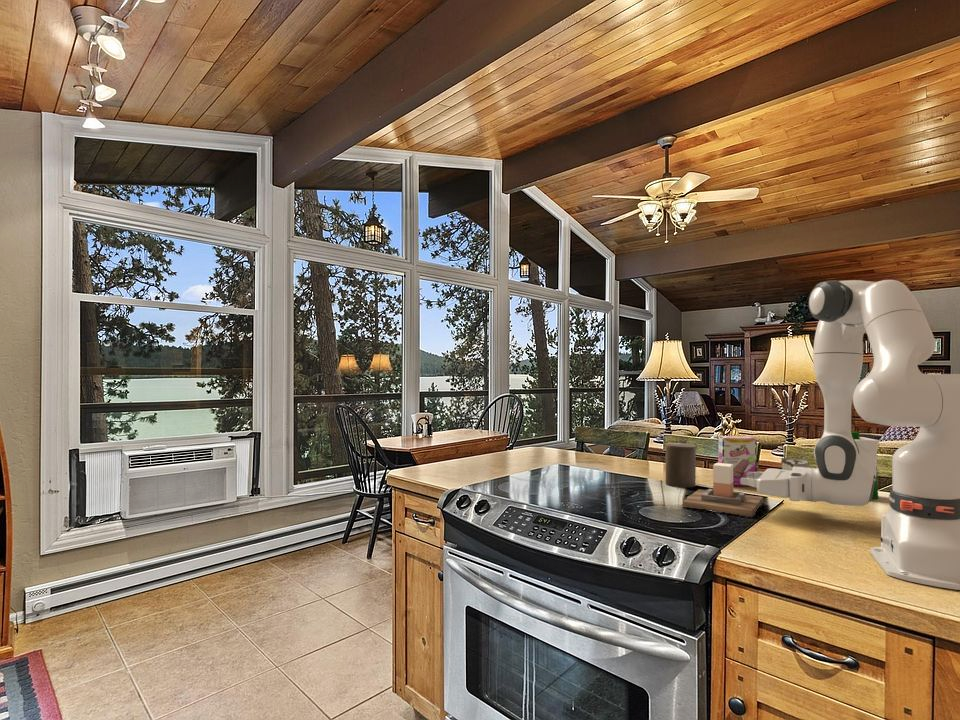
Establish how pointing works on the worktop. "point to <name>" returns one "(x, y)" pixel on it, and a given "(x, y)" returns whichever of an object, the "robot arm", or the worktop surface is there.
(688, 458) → the pillar candle
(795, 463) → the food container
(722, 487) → the block stack
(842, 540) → the worktop surface
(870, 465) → the milk carton
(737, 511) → the walnut plate
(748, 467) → the candy bar box
